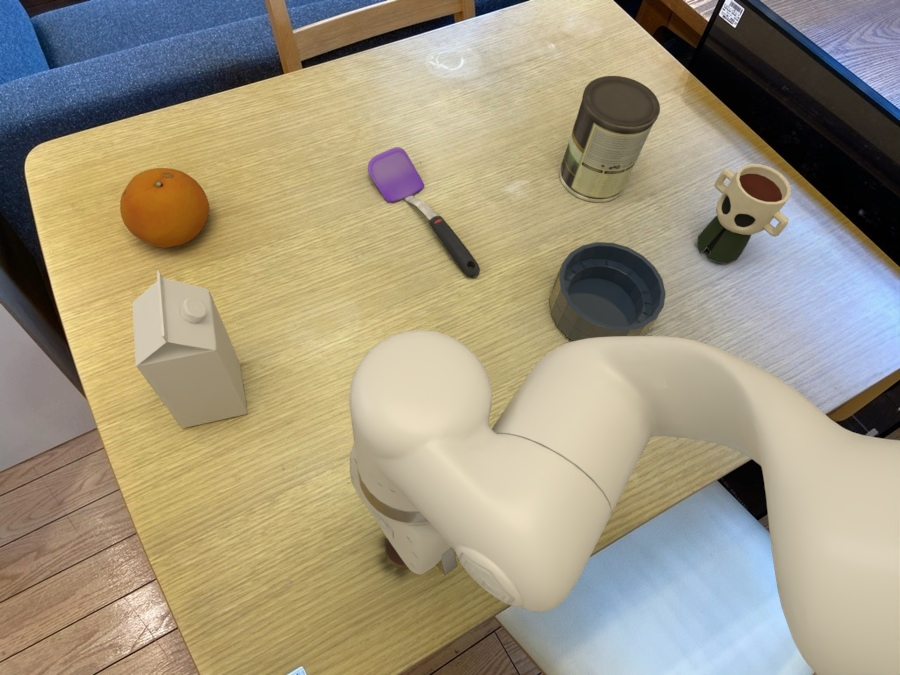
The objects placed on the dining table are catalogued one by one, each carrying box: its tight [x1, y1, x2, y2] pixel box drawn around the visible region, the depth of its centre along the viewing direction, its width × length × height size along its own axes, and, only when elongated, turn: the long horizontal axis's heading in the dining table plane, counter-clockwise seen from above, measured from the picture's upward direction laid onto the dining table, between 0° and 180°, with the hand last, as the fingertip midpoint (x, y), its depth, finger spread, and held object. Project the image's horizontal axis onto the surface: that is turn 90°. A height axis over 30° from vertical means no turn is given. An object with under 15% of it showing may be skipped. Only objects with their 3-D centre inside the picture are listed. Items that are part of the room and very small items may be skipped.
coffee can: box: [558, 75, 661, 203], centre depth 89 cm, size 10×10×14 cm
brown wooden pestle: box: [384, 537, 410, 570], centre depth 59 cm, size 4×4×14 cm
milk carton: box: [131, 270, 248, 429], centre depth 64 cm, size 7×7×19 cm
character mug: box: [696, 163, 792, 265], centre depth 84 cm, size 11×7×13 cm, turn 36°
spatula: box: [367, 146, 481, 278], centre depth 87 cm, size 24×7×2 cm, turn 34°
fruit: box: [119, 167, 210, 248], centre depth 80 cm, size 10×10×8 cm
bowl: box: [549, 241, 667, 341], centre depth 80 cm, size 13×13×6 cm
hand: (406, 529), depth 58 cm, fingers closed on brown wooden pestle, 1 cm apart
